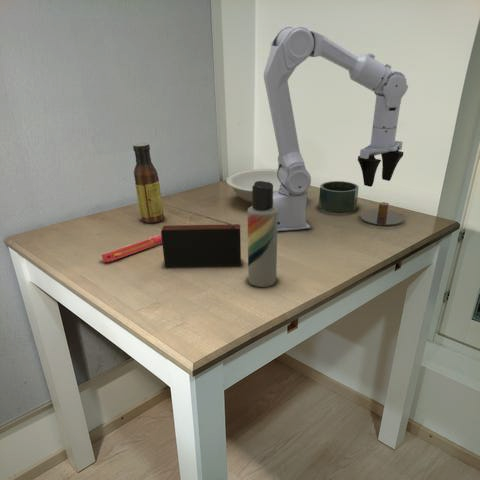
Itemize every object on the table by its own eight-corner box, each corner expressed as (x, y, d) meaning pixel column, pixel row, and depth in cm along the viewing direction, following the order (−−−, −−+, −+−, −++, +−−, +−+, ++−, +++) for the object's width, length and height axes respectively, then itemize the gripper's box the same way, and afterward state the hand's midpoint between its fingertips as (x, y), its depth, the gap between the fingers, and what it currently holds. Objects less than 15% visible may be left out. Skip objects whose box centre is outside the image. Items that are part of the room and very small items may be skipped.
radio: (240, 260, 105) (239, 193, 97) (240, 266, 102) (239, 198, 95) (157, 261, 105) (149, 195, 97) (155, 267, 103) (147, 199, 95)
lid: (369, 230, 119) (372, 212, 117) (353, 215, 128) (355, 198, 126) (411, 226, 120) (414, 208, 118) (392, 212, 130) (394, 195, 127)
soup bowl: (215, 211, 134) (214, 188, 130) (240, 187, 153) (240, 166, 150) (299, 218, 128) (300, 193, 124) (313, 192, 147) (315, 171, 144)
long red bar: (100, 263, 107) (109, 262, 103) (97, 254, 106) (106, 253, 103) (182, 234, 121) (193, 233, 118) (179, 226, 121) (190, 224, 117)
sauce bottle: (166, 216, 131) (158, 141, 120) (161, 224, 126) (152, 146, 115) (143, 216, 132) (133, 141, 121) (137, 223, 126) (126, 146, 116)
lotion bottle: (259, 272, 99) (259, 177, 89) (281, 279, 96) (284, 181, 86) (242, 282, 96) (240, 183, 85) (265, 290, 93) (265, 189, 82)
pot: (325, 216, 129) (327, 193, 125) (314, 204, 137) (315, 182, 134) (361, 213, 130) (364, 190, 126) (348, 202, 139) (350, 180, 135)
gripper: (380, 132, 108) (372, 191, 115) (416, 124, 115) (407, 180, 122) (355, 128, 112) (349, 185, 119) (391, 121, 120) (384, 175, 127)
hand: (377, 182), depth 121 cm, fingers open, 7 cm apart
